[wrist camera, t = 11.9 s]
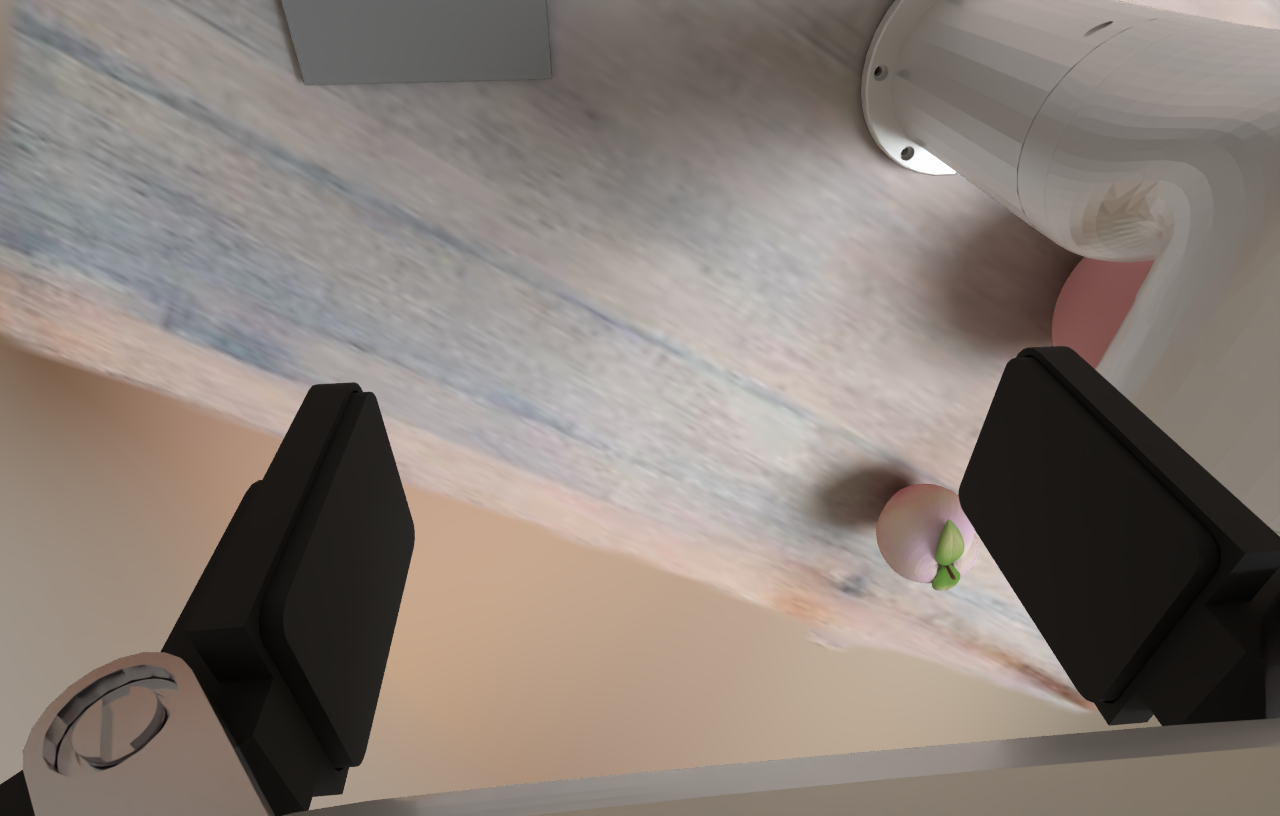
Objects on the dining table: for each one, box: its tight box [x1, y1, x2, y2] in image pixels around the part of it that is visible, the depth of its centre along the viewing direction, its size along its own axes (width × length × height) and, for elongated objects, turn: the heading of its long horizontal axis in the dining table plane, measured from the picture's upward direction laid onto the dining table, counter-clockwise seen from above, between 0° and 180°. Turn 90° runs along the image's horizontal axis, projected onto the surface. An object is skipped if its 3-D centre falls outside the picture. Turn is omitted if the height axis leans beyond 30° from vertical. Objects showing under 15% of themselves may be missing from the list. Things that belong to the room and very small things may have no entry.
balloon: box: [1052, 257, 1155, 369], centre depth 47 cm, size 15×20×15 cm
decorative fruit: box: [876, 484, 978, 591], centre depth 61 cm, size 9×8×10 cm
